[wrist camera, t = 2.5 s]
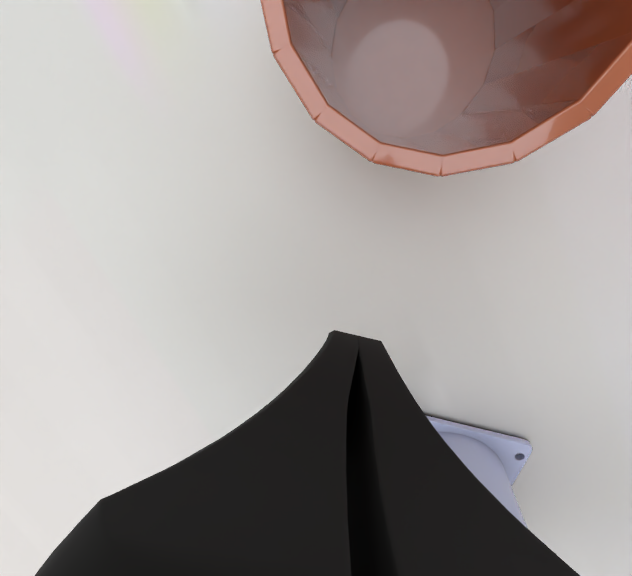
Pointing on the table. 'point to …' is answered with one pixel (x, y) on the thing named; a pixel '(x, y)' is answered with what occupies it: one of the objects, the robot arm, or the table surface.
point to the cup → (451, 73)
